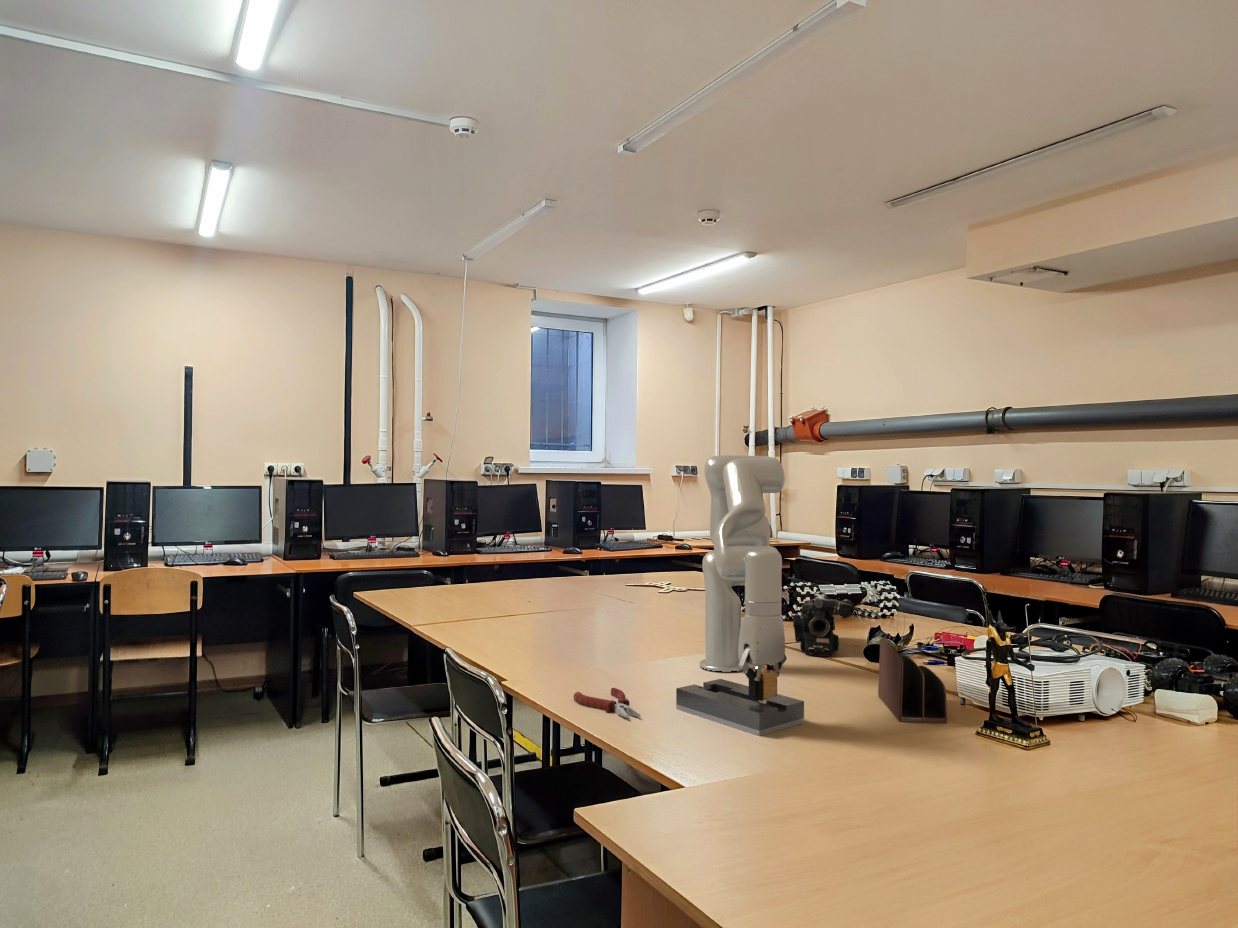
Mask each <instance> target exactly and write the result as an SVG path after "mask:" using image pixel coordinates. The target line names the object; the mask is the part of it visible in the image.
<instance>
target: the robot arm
mask: <svg viewBox="0 0 1238 928" xmlns="http://www.w3.org/2000/svg"><path fill="white" fill-rule="evenodd" d="M785 475H786V474H785V470H784V468H783V465H782V463H781V462H780V461H779V459H777V458H774V457H771V456H770V455H769V456H768V455H734V454H733V455H732V454H731V455H727V454H725V455H714V456H711V457H709V458H707V459H706V460H705V463H704V477H705V478H704V479H705V482H706V484H707V487H708V490H709V493H710V516H709V517H710V518H709V537H710V542H711V544H712V545H713V550H711V551H709V552H707V553H705V555H704V556H703V559H702V564H701V565H702V574H703V580H704V587H705V588H704V592H705V659H702V660H700V662H699V667H700V668H701V667H702V668H701V669H703V668H704V669H703V670H705V669H707V670H706V671H709V670H712V671H711V672H715V671H722V672H721V673H732V672H731V671H737V672H743V673H744V675H745V677H746V679H747V680H748V686H749V698H752V699H755V700H762V681H760V675H761V668H763V666H764V668H765V669H769V670H773V671H777V678H778V677H779V676H780V670H781V668H782V667H783V665H784V664H785V663H786V661H787V655H786V637H785V636H786V635H785V624H784V619H783V614H782V605H783V604H782V569H783V560H782V559H783V558H782V555H781V553H780V552H779V551H778V548H777V547H774V546H771V545H770V542H771V527H770V522H769V519H768V517H767V516H766V512H767V511H766V505H765V504H766V503H765V499H764V494H777V493H780V492H781V491H782V490H783V488H784V485H785V482H786V481H785V480H786V479H785ZM734 586H744V615H743V616H742V604H741V603H742V602H741V599H740V597H739V596H738V595H737V593H736V592H735V591H734V589H733V588H732V587H734ZM754 668H755V672H754ZM741 670H742V671H741ZM774 697H775V696H774Z"/></svg>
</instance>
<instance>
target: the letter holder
mask: <svg viewBox="0 0 1238 928" xmlns="http://www.w3.org/2000/svg"><path fill="white" fill-rule="evenodd" d="M877 689H878V690H877V697H878V698H879V700H881V701H882V703H884V705H885V706H886V708H887V709H888V710H889V711H890V712H891V714H892V715H893V716H894V717H895V719H896V720H897V721H898V722H899V723H925V724H930V723H931V724H947V723H948V712H947V711H948V710H947V709H948V708H947V705H948V704H947V689H946V686H945V683H944V682H943V681H942V679H941V678H939V676H938V675H937V674H936V673H935V672H934V671H932V669H930V667H929V668H928V667H927V666H925V665H918V664H917V663H916V662H915V660H913V659H912V658H911V657H909V656H908V655H906V654H900V653H899V652H898V651H897V649H896V648H895V647H894V646H893V645H891V644H890V643H888V642H885V641H881V642H880V644H879V661H878V688H877Z"/></svg>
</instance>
